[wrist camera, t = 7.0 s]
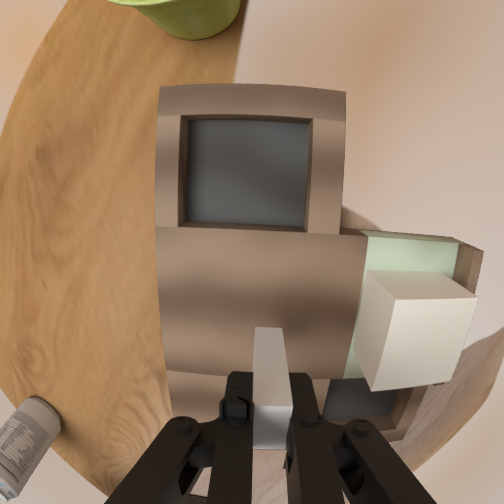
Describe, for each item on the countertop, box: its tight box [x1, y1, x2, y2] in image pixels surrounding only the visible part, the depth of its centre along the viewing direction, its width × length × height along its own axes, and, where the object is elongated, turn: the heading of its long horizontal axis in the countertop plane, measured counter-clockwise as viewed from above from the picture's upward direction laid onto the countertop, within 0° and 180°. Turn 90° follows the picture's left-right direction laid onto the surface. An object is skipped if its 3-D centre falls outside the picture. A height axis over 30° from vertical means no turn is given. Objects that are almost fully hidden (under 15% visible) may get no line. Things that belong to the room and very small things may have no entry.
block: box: [352, 270, 478, 391], centre depth 17 cm, size 6×6×5 cm
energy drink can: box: [0, 397, 61, 502], centre depth 21 cm, size 6×6×15 cm
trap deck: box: [155, 84, 484, 450], centre depth 20 cm, size 29×22×4 cm
